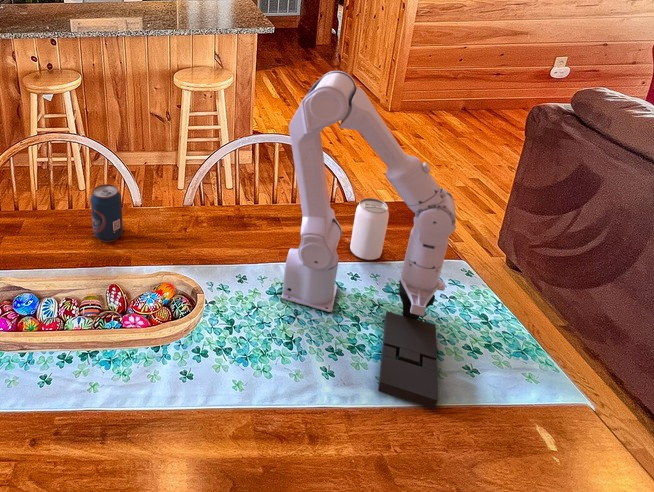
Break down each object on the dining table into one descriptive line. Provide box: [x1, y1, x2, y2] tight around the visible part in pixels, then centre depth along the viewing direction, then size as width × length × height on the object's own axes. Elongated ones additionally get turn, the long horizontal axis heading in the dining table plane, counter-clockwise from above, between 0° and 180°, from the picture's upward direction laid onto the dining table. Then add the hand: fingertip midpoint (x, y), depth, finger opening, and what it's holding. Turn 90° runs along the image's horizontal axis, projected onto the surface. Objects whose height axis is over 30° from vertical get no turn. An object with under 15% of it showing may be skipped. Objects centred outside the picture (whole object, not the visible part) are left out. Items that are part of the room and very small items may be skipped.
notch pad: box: [377, 344, 439, 410], centre depth 81 cm, size 8×8×2 cm
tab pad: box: [381, 311, 438, 366], centre depth 87 cm, size 8×10×2 cm
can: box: [349, 197, 390, 261], centre depth 109 cm, size 6×6×12 cm
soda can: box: [90, 183, 124, 243], centre depth 116 cm, size 7×7×12 cm
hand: (409, 318), depth 92 cm, fingers closed
